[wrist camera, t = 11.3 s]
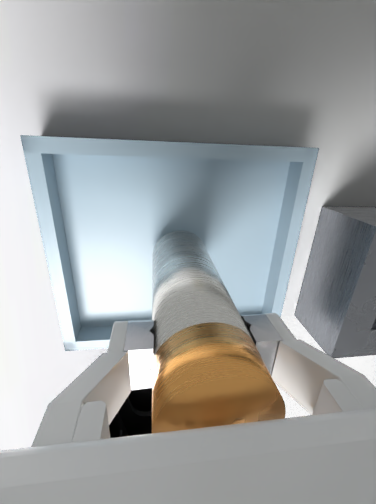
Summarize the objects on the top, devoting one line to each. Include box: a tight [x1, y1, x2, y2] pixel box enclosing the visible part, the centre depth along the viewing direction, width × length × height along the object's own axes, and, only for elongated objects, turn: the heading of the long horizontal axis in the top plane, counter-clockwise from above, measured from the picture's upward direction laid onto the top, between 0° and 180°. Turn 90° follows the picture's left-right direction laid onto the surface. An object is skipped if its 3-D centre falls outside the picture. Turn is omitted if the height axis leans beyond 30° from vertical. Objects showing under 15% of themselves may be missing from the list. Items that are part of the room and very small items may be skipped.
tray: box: [20, 135, 319, 351], centre depth 17 cm, size 16×14×2 cm
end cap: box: [109, 388, 152, 438], centre depth 22 cm, size 10×7×7 cm
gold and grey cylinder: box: [152, 230, 285, 433], centre depth 12 cm, size 4×4×11 cm
